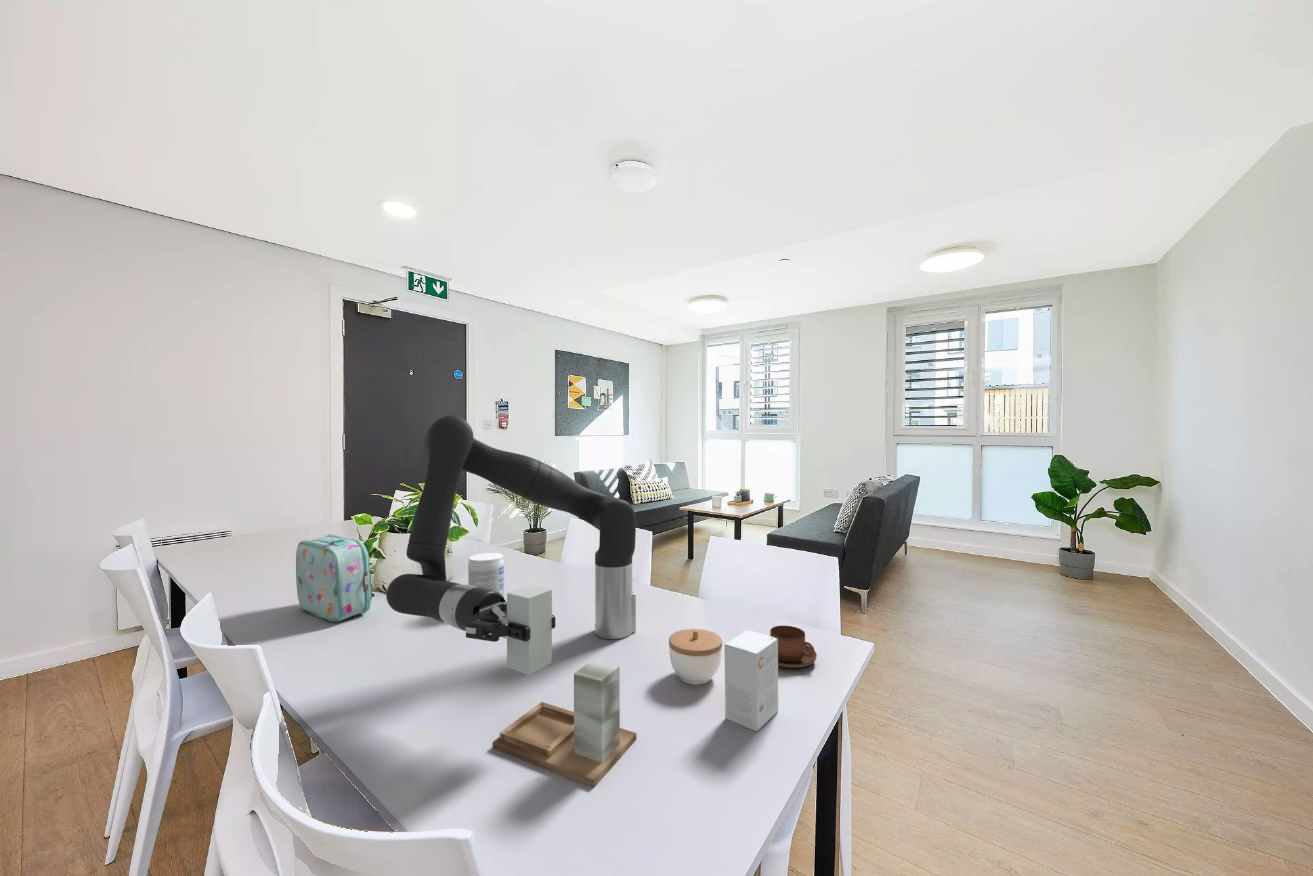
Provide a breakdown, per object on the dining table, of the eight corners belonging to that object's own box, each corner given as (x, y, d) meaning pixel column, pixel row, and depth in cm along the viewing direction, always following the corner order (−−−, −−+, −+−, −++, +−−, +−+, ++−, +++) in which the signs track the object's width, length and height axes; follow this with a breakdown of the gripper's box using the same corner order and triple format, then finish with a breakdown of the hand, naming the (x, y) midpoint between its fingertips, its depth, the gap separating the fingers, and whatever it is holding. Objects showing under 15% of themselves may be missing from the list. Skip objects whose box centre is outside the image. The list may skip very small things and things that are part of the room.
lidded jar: (726, 669, 102) (726, 624, 102) (715, 695, 92) (715, 645, 92) (677, 661, 106) (677, 618, 105) (661, 685, 95) (661, 637, 95)
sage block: (530, 655, 83) (530, 584, 83) (551, 662, 80) (551, 589, 80) (507, 667, 79) (506, 592, 79) (529, 675, 76) (529, 598, 76)
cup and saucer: (819, 654, 109) (819, 626, 109) (812, 678, 98) (812, 647, 98) (765, 644, 114) (765, 618, 114) (753, 666, 103) (753, 637, 103)
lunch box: (379, 616, 133) (378, 537, 133) (338, 628, 124) (337, 544, 124) (331, 598, 147) (330, 527, 147) (291, 609, 138) (290, 533, 138)
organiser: (543, 709, 87) (542, 636, 87) (636, 739, 79) (636, 658, 78) (492, 748, 76) (492, 665, 76) (594, 787, 68) (593, 693, 68)
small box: (747, 699, 90) (747, 628, 90) (779, 711, 86) (779, 638, 86) (723, 718, 84) (723, 643, 84) (756, 733, 80) (756, 653, 80)
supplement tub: (508, 610, 137) (508, 557, 137) (473, 617, 132) (472, 562, 132) (498, 600, 145) (498, 550, 145) (464, 606, 140) (464, 555, 140)
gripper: (435, 599, 81) (506, 619, 72) (503, 577, 93) (572, 592, 84) (435, 644, 81) (506, 670, 72) (504, 617, 93) (572, 636, 84)
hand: (541, 628), depth 78 cm, fingers closed on sage block, 5 cm apart
